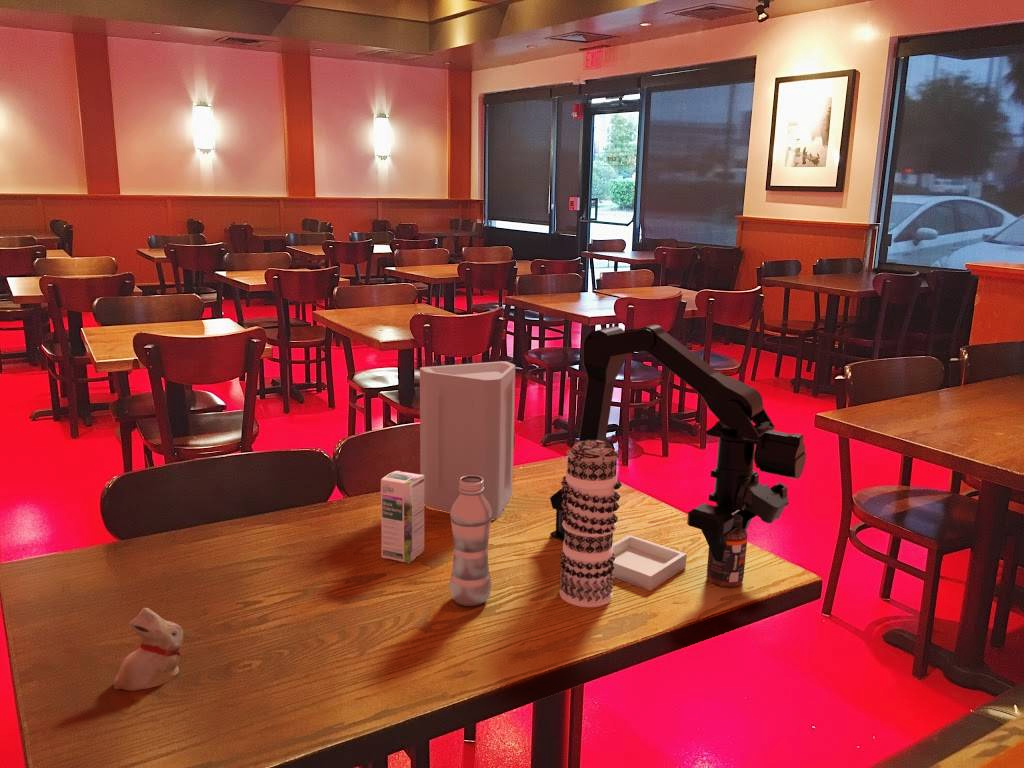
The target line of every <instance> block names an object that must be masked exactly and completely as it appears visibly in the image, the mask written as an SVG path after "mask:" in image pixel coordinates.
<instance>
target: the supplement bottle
mask: <svg viewBox="0 0 1024 768" xmlns="http://www.w3.org/2000/svg"><path fill="white" fill-rule="evenodd" d="M733 517H734V523H733V526H735V527H737V529H735V530H734V531H732V532H731V533H729V534H728V537H727V542H726V546H725V550H724V555H723V558H722V561H721V562H718V561H715V560H714V557H713V555H712V553H711V550H710V548H709V547H708V553H707V556H708V557H707V566H706V577H707V579H708V581H710V582H711V583H712V584H714V585H718V586H721V587H726V588H727V587H729V588H732V587H737V586H740V585H742V583H743V581H744V578H745V575H744V574H745V567H746V565H745V564H746V555H747V554H746V553H747V546H748V545H747V544H748V532H747V531H746V530H745V529H743V528H742V525H743V518H742V516H740V515H738V514H733Z"/></svg>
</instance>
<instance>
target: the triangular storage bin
mask: <svg viewBox="0 0 1024 768" xmlns="http://www.w3.org/2000/svg"><path fill="white" fill-rule="evenodd" d="M515 389H516V364H515V363H511V362H509V361H505V360H504V361H503V360H501V361H490V362H478V363H476V362H475V363H474V362H473V363H462V364H461V363H460V364H449V365H435V366H424V367H423V366H422V367H419V433H420V434H419V438H420V439H419V440H420V441H419V442H420V445H419V446H420V447H419V450H420V451H419V452H420V453H419V455H420V457H419V459H420V462H419V464H420V465H419V467H420V468H419V469H420V471H419V473H420V474H419V475H424V504H425V506H427V507H430V508H433V509H437V510H442V511H446V512H450V511H451V508H452V505H453V504H454V502H455V501H456V499H457V498H458V497H459V496H460V494H461V493H460V492H459V487H460V478H462V477H464V476H469V475H474V476H480V477H482V478H483V480H484V484H483V487H484V492H483V493H482V495H483V496H484V497H485V499H486V500H487V501H488V503H489V505H490V507H491V511H492V518H491V521H493V520H492V519H496V520H498V519H499V518H500V517H499V516H501V515H502V513H503V512H502V511H504V510H505V509H506V507H507V506H508V504H509V502H510V501H511V499H512V498H511V496H512V497H513V487H514V486H513V482H514V480H513V478H514V439H515V438H514V437H515V434H514V433H515V400H516V399H515V398H516V397H515V396H516V394H515V391H516V390H515ZM510 498H511V499H510ZM509 500H510V501H509ZM508 501H509V502H508ZM507 503H508V504H507ZM506 505H507V506H506ZM505 506H506V507H505ZM504 508H505V509H504ZM503 509H504V510H503ZM500 514H501V515H500ZM498 517H499V518H498ZM497 518H498V519H497Z"/></svg>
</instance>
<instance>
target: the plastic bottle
mask: <svg viewBox="0 0 1024 768" xmlns="http://www.w3.org/2000/svg"><path fill="white" fill-rule="evenodd" d="M483 484H484V480H483V478H482V477H480V476H474V475H469V476H464V477H462V478H460V487H459V492H460V493H461V494H460V496H459V497H458V498H457V499H456V501H455V502H454V504H453V505H452V508H451V511H450V514H449V516H450V518H449V519H450V523H451V524H450V525H451V532H452V543H453V544H452V545H453V559H452V571H451V575H450V580H449V590H450V596H451V598H452V599H453V600H454V602H455V603H457V604H459V605H461V606H466V607H473V606H474V607H475V606H478V605H481V604H483V603H485V602H486V601H487V600H488V599H489V597H490V595H491V590H492V578H491V577H492V576H491V572H490V565H489V539H490V530H491V523H492V520H491V518H492V511H491V507H490V505H489V503H488V501H487V500H486V499H485V497H484V496H483V495H482V493H483V492H484V487H483Z"/></svg>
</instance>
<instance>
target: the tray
mask: <svg viewBox="0 0 1024 768" xmlns="http://www.w3.org/2000/svg"><path fill="white" fill-rule="evenodd" d="M612 543H613V544H614V545H613V553H614V557H615V560H614V561H613V564H614V565H613V566H614V570H613V572H612V573H613V577H614V579H618V580H620V581H624V582H626V583H628V584H632V585H633V586H636V587H639V588H642V589H645V590H648V591H652V590H653V589H655V588H657V587H658V586H660V585H661V584H662V583H664V582H665V581H667V580H668V579H670V578H672V577H673V576H675V575H676V574H677V573H679V572H681V571H682V570H684V569H685V568H686V567H687V553H685V552H682V551H681V550H676V549H674V548H671V547H668V546H664V545H662V544H658V543H656V542H652V541H650V540H646V539H643V538H640V537H637V536H634V535H631V534H627V535H625V536H624V537H623V538H620V539H619V540H617V541H615V542H612Z"/></svg>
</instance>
